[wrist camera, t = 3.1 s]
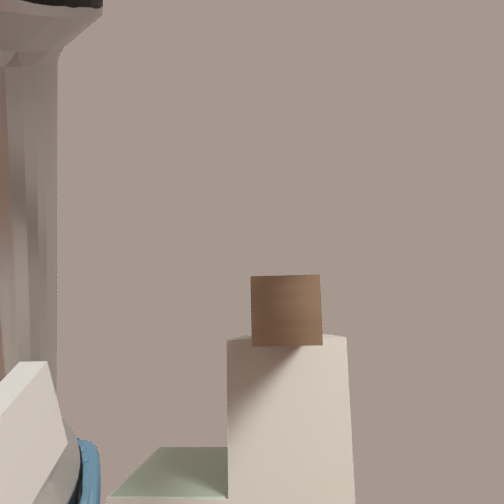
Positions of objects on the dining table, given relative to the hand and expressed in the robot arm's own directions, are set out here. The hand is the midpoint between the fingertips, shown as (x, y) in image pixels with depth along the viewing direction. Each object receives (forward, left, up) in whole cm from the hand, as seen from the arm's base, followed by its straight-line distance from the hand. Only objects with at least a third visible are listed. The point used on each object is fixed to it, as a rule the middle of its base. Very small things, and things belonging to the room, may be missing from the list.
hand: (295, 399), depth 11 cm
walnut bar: (0, +20, +1) cm, 20 cm away
